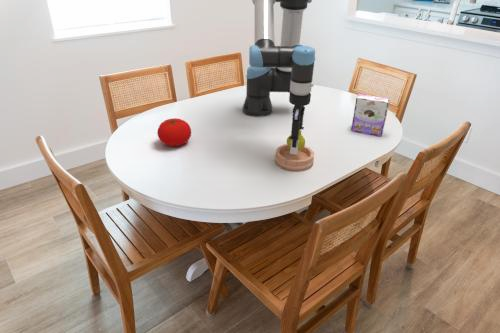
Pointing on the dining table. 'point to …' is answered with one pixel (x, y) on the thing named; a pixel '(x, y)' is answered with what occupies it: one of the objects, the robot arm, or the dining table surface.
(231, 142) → the dining table surface
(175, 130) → the tomato
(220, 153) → the dining table surface
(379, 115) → the candy box
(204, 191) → the dining table surface
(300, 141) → the fruit
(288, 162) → the dish
